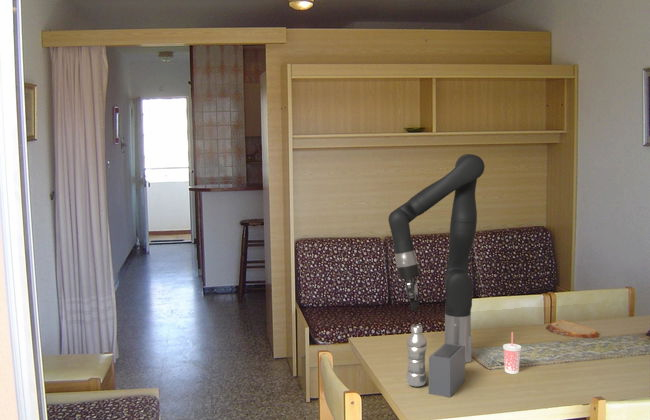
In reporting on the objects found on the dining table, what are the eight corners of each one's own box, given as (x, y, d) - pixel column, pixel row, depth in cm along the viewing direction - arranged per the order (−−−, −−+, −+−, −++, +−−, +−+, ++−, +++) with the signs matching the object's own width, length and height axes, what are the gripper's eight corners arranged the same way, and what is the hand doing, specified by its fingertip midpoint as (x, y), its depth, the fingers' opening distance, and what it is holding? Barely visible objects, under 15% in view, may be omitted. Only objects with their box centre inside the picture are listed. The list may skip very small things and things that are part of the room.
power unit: (464, 380, 223) (465, 345, 222) (450, 397, 209) (450, 359, 208) (443, 377, 226) (443, 342, 225) (427, 393, 212) (427, 355, 211)
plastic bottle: (404, 382, 222) (404, 323, 220) (424, 381, 223) (424, 323, 221) (408, 389, 216) (408, 329, 214) (428, 388, 216) (429, 328, 214)
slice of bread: (601, 339, 268) (602, 330, 267) (557, 339, 268) (557, 330, 268) (585, 326, 286) (585, 318, 285) (543, 327, 286) (543, 318, 286)
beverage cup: (511, 375, 227) (511, 335, 226) (498, 370, 233) (499, 331, 231) (524, 372, 230) (525, 333, 228) (512, 367, 235) (512, 328, 234)
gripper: (416, 264, 231) (425, 310, 230) (418, 260, 245) (427, 304, 244) (394, 268, 232) (403, 314, 232) (398, 264, 246) (407, 307, 246)
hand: (415, 308), depth 238 cm, fingers open, 8 cm apart
